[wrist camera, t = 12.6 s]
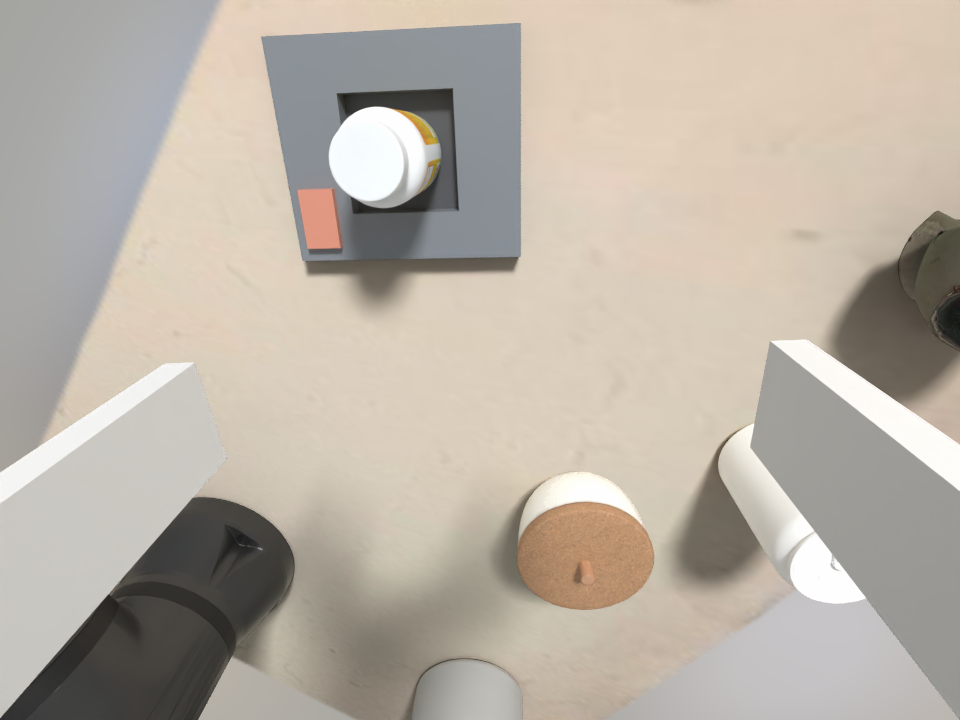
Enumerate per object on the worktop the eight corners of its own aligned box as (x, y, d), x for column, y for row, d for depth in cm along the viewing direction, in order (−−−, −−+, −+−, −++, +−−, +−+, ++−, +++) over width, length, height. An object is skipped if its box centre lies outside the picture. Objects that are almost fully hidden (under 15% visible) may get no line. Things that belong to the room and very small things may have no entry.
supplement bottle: (358, 115, 33) (302, 109, 25) (437, 106, 33) (408, 97, 24) (372, 198, 36) (326, 220, 27) (446, 191, 35) (424, 211, 26)
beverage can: (708, 491, 45) (769, 606, 34) (723, 414, 41) (798, 514, 31) (801, 493, 44) (894, 611, 33) (825, 414, 41) (937, 517, 30)
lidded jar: (496, 476, 46) (492, 555, 37) (605, 432, 43) (628, 506, 34) (546, 554, 49) (553, 643, 41) (650, 518, 47) (681, 605, 38)
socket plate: (310, 256, 38) (299, 262, 36) (272, 41, 32) (256, 35, 30) (520, 251, 37) (520, 258, 35) (520, 28, 31) (520, 20, 29)
